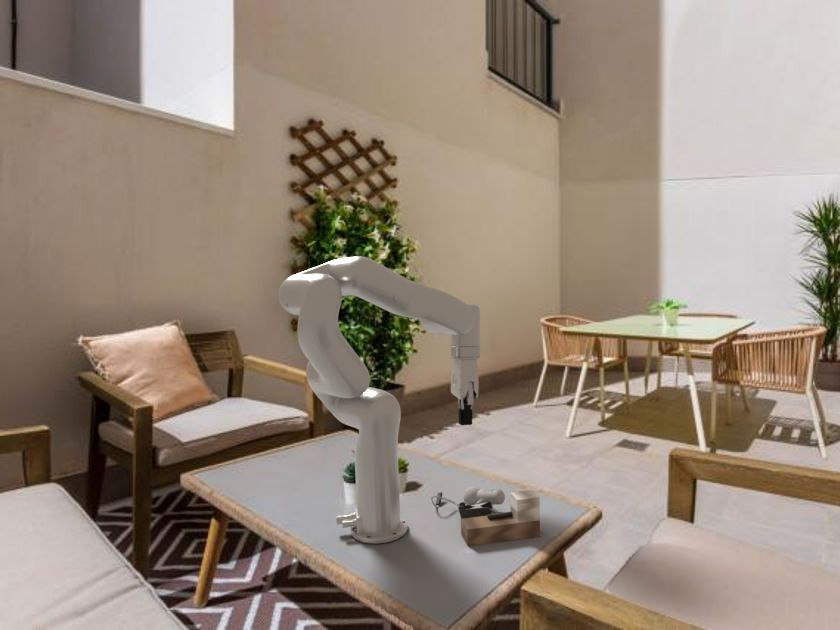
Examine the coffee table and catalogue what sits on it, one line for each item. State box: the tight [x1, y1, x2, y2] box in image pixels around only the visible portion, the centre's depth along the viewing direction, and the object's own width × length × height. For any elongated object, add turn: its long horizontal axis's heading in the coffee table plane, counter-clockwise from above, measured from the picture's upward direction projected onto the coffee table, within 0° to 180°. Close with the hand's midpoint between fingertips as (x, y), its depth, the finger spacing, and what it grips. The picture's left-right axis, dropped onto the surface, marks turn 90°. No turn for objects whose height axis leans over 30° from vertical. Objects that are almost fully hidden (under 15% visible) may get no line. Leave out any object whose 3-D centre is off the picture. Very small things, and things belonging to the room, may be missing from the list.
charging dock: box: [460, 489, 541, 547], centre depth 111 cm, size 16×6×8 cm, turn 101°
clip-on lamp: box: [430, 485, 506, 520], centre depth 122 cm, size 12×6×18 cm
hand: (465, 424), depth 131 cm, fingers closed
